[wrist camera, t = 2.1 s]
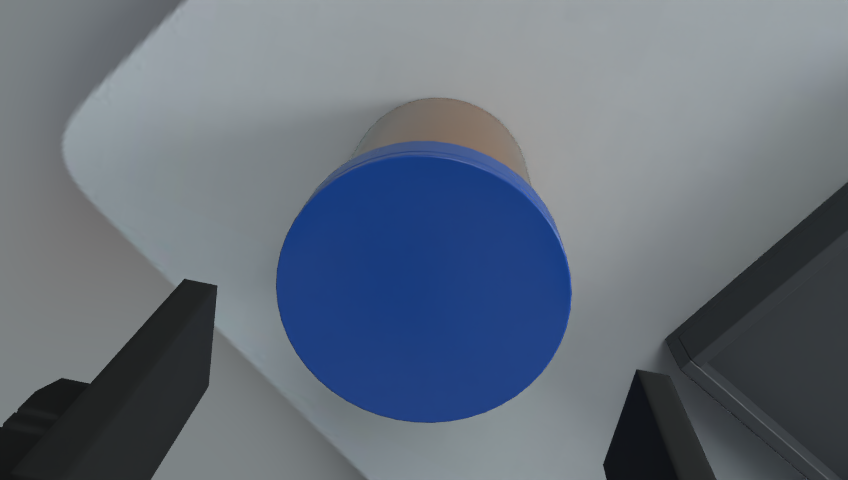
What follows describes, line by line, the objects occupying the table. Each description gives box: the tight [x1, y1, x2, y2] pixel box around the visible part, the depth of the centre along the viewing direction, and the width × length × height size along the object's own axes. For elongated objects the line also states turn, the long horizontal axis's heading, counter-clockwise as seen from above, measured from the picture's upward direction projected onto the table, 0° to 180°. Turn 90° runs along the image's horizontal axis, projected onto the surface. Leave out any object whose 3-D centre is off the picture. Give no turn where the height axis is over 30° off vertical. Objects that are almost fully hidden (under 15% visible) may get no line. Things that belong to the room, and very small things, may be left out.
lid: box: [276, 141, 572, 423], centre depth 22 cm, size 9×8×2 cm
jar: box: [349, 98, 532, 187], centre depth 26 cm, size 8×8×10 cm
